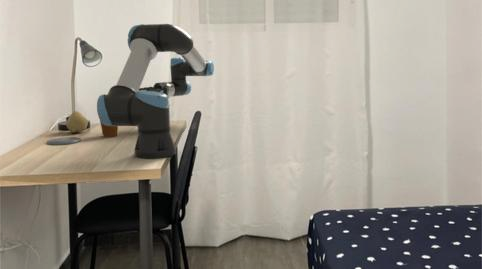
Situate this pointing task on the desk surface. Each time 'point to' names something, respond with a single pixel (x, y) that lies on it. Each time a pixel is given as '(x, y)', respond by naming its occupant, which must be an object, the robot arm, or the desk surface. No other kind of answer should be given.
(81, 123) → the tan rounded lump
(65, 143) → the saucer
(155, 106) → the robot arm
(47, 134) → the desk surface
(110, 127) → the disposable coffee cup
